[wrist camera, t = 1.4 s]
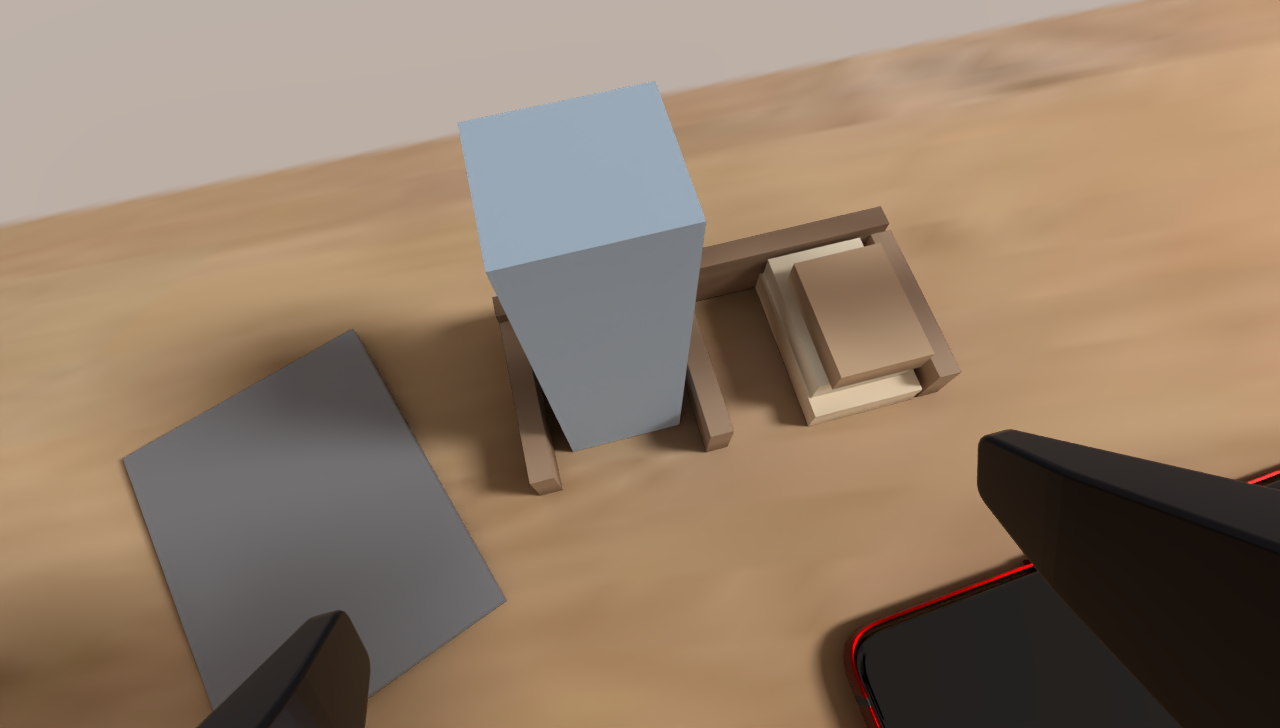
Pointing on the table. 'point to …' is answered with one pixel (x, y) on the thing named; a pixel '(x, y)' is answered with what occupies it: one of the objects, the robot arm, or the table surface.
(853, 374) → the offcut stack
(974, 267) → the table surface
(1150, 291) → the table surface
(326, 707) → the robot arm
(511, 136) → the block
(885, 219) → the rack
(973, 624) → the smartphone
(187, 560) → the mat
